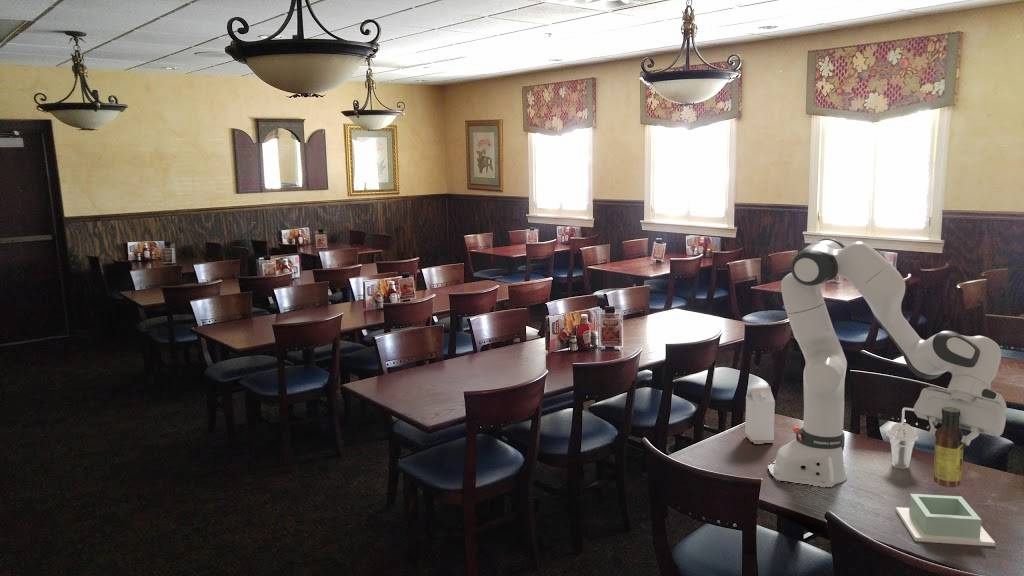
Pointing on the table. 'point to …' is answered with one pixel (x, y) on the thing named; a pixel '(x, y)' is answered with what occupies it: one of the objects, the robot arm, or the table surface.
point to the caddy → (943, 520)
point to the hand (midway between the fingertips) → (948, 439)
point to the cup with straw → (902, 442)
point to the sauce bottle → (948, 450)
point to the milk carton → (760, 414)
